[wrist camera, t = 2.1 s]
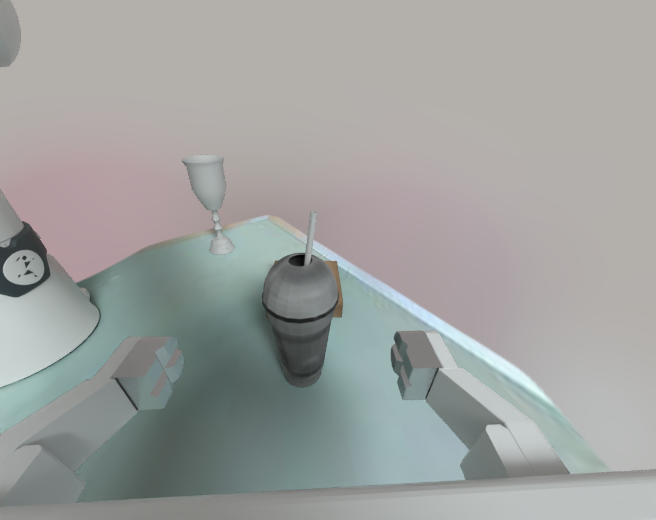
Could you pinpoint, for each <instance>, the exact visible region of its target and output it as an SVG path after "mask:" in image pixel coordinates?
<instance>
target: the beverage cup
mask: <svg viewBox="0 0 656 520" xmlns="http://www.w3.org/2000/svg"><path fill="white" fill-rule="evenodd" d="M316 217H317V212H316V211H311V213H310V222H309V230H308V237H307V245H306V253H295V254H291V255H288V256H286V257H284V258H282V259H280V260H279V261H278V262H277V263H276V264H274V266H273V267H272V268H271V269H270V271H269V273H268V275H267V277H266V279H265V282H264V292H263V295H262V304H263V306H264V308H265V310H266V313H267V315H268V317H269V320H270V321H271V324H272V328H273V332H274V337H275V341H276V345H277V349H278V353H279V358H280V362H281V366H282V369H283V371H284V376H285V378H286V380H287V381H288V382H289V383H290V384H292V385H294V386H296V387H306V386H310V385H312V384H313V383H315V382H316V381H317V380H318V379H319V377H320V375H321V370H322V367H323V363H324V358H325V352H326V346H327V341H328V335H329V330H330V324H331V319H332V318H333V315H334V312H335V309H336V306H337V304H338V300H339V293H338V290H337V282H336V279H335V277H334V275H333V272H332V270H331V269H330V267H329V266H328V265H327V264H326V263H325V262H324V261H323V260H321V259H320V258H318V257H316V256H314V255H311V253H312V246H313V238H314V231H315V224H316Z"/></svg>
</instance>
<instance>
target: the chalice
mask: <svg viewBox="0 0 656 520" xmlns="http://www.w3.org/2000/svg"><path fill="white" fill-rule="evenodd" d="M223 161H224V158H223V157H221V156H215V155H201V156H191V157H186V158H183V159H182V162H183V163H184V164H185V166H186V167H187V171H188V175H189V179H190V183H191V187H192V190H193V191H194V193H195V195H196V196H197V198H198V199H199V200H200V202H201V203H202V204H203V205H204V207H205V208H206V209H207V210H211V211H212V213H213V218H212V220H213V221H214V223H215V227H214V228H213V229H215V230H216V232H217V236H216V237H215V238H214V239H213V240H212V242H211V243H212V244H211V248H210V252H211V253H212V254H216V255H223V254H227V253H230V252H232V251H233V250H234V249H235V246H234V245H233V244H232V242H231V241H230V239H229V238H228V237H226V236H223V235H222V233H221V229H222V228H223V227H222V226H221V225H220V224H219V221H220V218H219V216H218V214H217V210H218V209H220V208H221V206H222V202H223V199H224V196H225V190H226V182H225V176H224V171H223V165H222V164H223Z"/></svg>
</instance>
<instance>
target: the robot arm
mask: <svg viewBox="0 0 656 520" xmlns="http://www.w3.org/2000/svg"><path fill="white" fill-rule="evenodd" d="M20 42H21V31H20V25H19V20H18V17H17V14H16V11H15V8H14V6H13V4H12V2H11V0H0V67H7V66H10V65H11V64H12V62H13V61H14V60H15V58H16V56H17V55H18V52H19V48H20ZM46 253H47V250H46V248H45V247H44V245H43V243H42V242H41V240H40V237H39V235H38V234H37V233H36V232H35V231H34V230H33V229H32V228H31V226H30V225H29V224H28V223H26V222H23V221H21V220H20V218H19V217H18V215H17V214H16V212H15V211H14V209H13V208H12V206H11V205H10V203H9V202H8V200H7V198H6V197H5V195H4V194H3V192H2V191H1V189H0V387H3V386H6V385H8V384H11V383H13V382H16V381H19V380H21V379H23V378H26V377H28V376H30V375H32V374H34V373H36V372H38V371H40V370H42V369H44V368H46V367H48V366H49V365H51V364H53V363H55V362H56V361H58V360H59V359H61V358H62V357H64V356H65V355H67V354H68V353H70V352H71V351H72V350H74V349H75V348H76V347H77V346H79V345H80V344H81V343H82V342H83V341H84V340H85V339H86V338H87V337H88V336H89V335H90V334H91V333H92V331H93V330H94V329H95V327H96V325H97V323H98V321H99V316H100V315H99V310H98V309H97V307H96V306H94V305H93V304H92V303H91V302H90V293H89V292H88V291H87V290H86V289H85V288H79V287H78V286H77V284H76V283H75V282H74V281H73V280H72V279H71V277H70V276H69V275H68V273H67V272H66V271H65V270H64V269H63V267H62V266H61V265H60V264H59V263H58V261H57V260H56V259H55V258H54V257H53V256H51V255H49V254H46ZM394 340H395V344H394V345H393V346H392V349H391V362H392V367H393V370H394V372H395V373H396V374H397V375H398V376H399V378H398V381H397V384H398V387H399V390H400V393H401V396H402V400H426V402H427V403H428V404H429V405H430V407H431V408H432V409H433V410H434V411H435V412H436V413H437V414H438V415H439V416H440V418H441V419H442V420H443V421H444V422H445V423H446V424H447V425H448V426H449V428H450V429H451V430H452V431H453V432H454V433H455V434H456V435H457V436H458V438H459V439H460V440H461V441H462V442H463V443H464V444H465V445H466V446H467V448H468V449H469V451H468V453H467V454H466V456H465V457H464V459H463V460H462V462H461V464H460V466H461V469H462V471H463V474H464V476H465V479H466V480H457V481H439V482H421V483H404V484H386V485H369V486H351V487H334V488H316V489H298V490H281V491H263V492H246V493H228V494H211V495H193V496H175V497H158V498H141V499H123V500H106V501H88V502H76V501H77V499H78V498H79V496H80V494H81V493H82V491H83V489H84V487H85V486H86V485H85V480H83V479H82V478H81V477H80V476H78V475H77V474H76V473H75V471H76V470H77V469H78V468H79V467H80V466H81V465H82V464H83V463H85V462H86V461H87V460H88V459H89V458H90V457H91V456H92V455H93V454H94V453H95V452H96V451H97V450H98V449H99V448H100V447H101V446H102V445H104V444H105V443H106V442H107V441H108V440H109V439H110V438H111V437H112V436H113V435H114V434H115V433H116V432H117V431H118V430H119V429H120V428H121V427H123V426H124V425H125V424H126V423H127V422H128V421H129V420H130V419H131V418H132V417H133V416H134V415H135V414H136V413H137V411H140V410H156V409H164V407H165V405H166V403H167V401H168V399H169V397H170V395H171V393H172V391H173V388H172V383H174V382H175V381H176V380H177V379H178V378H179V377H180V375H181V373H182V371H183V366H184V355H183V353H182V351H180V350H179V349H177V348H176V347H177V345H178V341H177V339H176V337H128V338H126V339H125V340H124V341H123V342H122V343H121V344H120V345H119V347H118V348H117V349H116V350H115V352H114V353H113V354H112V355H111V356H110V358H109V359H108V360H107V361H106V363H105V364H104V365H103V366H102V368H101V369H100V370H99V371H98V373H97V374H96V375H95V376H94V377H93V379H87V380H85V381H84V382H82V383H81V384H79V385H77V386H76V387H74V388H73V389H71V390H70V391H68V392H66V393H65V394H63V395H62V396H60V397H58V398H57V399H55V400H54V401H52V402H51V403H49V404H47V405H46V406H44V407H43V408H41V409H40V410H38V411H36V412H35V413H33V414H32V415H30V416H28V417H27V418H25V419H24V420H22V421H21V422H19V423H17V424H16V425H14V426H13V427H11V428H9V429H8V430H6V431H5V432H3V433H2V434H0V520H656V469H651V470H632V471H615V472H597V473H580V474H570V472H569V471H568V470H567V468H566V467H565V465H564V464H563V462H562V461H561V460H560V458H559V457H558V455H557V454H556V452H555V451H554V450H553V448H552V447H551V445H550V444H549V442H548V441H547V440H546V438H545V437H544V435H543V434H542V432H541V431H540V430H539V428H538V427H537V425H536V424H535V422H534V421H532V420H531V419H530V418H528V417H527V416H526V415H524V414H523V413H522V412H520V411H519V410H518V409H516V408H515V407H514V406H512V405H511V404H510V403H508V402H507V401H506V400H504V399H503V398H502V397H500V396H499V395H498V394H496V393H495V392H494V391H492V390H491V389H490V388H488V387H487V386H486V385H484V384H483V383H482V382H480V381H479V380H478V379H476V378H475V377H474V376H472V375H471V374H470V373H468V372H467V371H466V370H464V369H463V368H458V367H457V365H456V363H455V361H454V360H453V358H452V356H451V354H450V352H449V351H448V349H447V347H446V345H445V344H444V342H443V340H442V338H441V336H440V335H439V333H438V332H437V331H436V330H434V331H397V332H396V333H395V336H394Z"/></svg>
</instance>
